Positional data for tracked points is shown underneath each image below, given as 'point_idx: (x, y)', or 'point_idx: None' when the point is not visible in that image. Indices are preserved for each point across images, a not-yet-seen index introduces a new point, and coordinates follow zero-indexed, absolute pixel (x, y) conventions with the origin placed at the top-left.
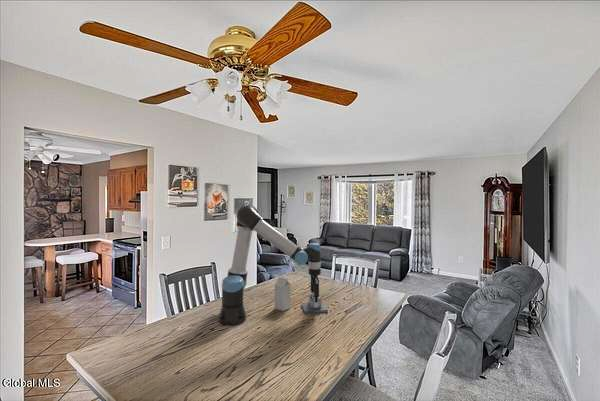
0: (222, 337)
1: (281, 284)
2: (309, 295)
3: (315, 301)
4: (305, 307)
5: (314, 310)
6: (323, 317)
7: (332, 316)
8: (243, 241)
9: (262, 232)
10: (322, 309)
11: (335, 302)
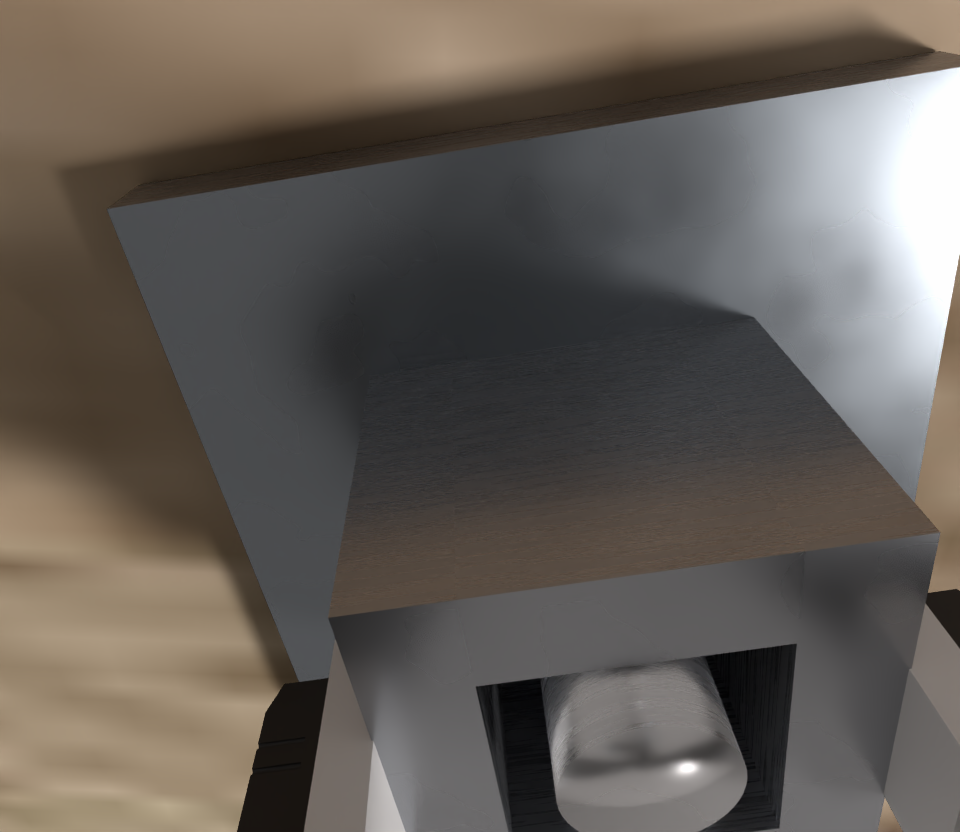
0: None
1: None
2: (848, 598)
3: (263, 722)
4: (470, 231)
5: (237, 492)
6: (19, 619)
7: (132, 755)
8: None
9: None
10: None
11: (882, 824)
